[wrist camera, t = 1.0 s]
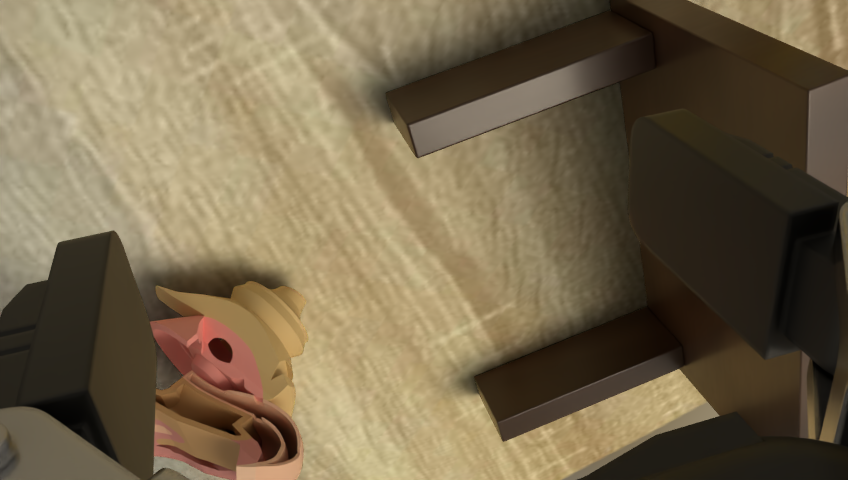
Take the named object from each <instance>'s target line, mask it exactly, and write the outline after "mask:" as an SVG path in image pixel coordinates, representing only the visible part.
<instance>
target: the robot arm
mask: <svg viewBox="0 0 848 480" xmlns="http://www.w3.org/2000/svg"><path fill="white" fill-rule="evenodd" d="M628 215H629V220H630V223H631V226H632V229H633V231H634V233H635V235H636V237H637V238H638V240H639V241H640V242H641V243H642V244H643V245H644V246H645V247H646V248H647V249H648V250H649V251H650V252H651V253H652V254H653V255H654V256H656V257H657V258H658V259H659V260H660V261H661V262H662V263H663V264H664V265H665V266H666V267H667V268H668V269H669V270H670V271H671V272H672V273H673V274H675V275H676V276H677V277H678V278H679V279H680V280H681V281H682V282H683V283H684V284H685V285H686V286H687V287H688V288H689V289H690V290H691V291H692V292H694V293H695V294H696V295H697V296H698V297H699V298H700V299H701V300H702V301H703V302H704V303H705V304H706V305H707V306H708V307H709V308H710V309H711V310H713V311H714V312H715V313H716V314H717V315H718V316H719V317H720V318H721V319H722V320H723V321H724V322H725V323H726V324H727V325H728V326H729V327H730V328H732V329H733V330H734V331H735V332H736V333H737V334H738V335H739V336H740V337H741V338H742V339H743V340H744V341H745V342H746V343H747V344H748V345H749V346H751V347H752V348H753V349H754V350H755V351H756V352H757V353H758V354H759V355H760V356H761V357H762V358H763V359H764V360H767V359H771V358H774V357H778V356H781V355H785V354H788V353H792V352H795V351H799V350H802V351H803V352H804V353H805V354H806V355H807V356H808V357H810V360H809V365H808V370H807V411H808V438H799V437H790V436H758V435H757V433H756V432H755V431H754V430H753V429H752V428H751V427H750V426H749V425H748V424H747V423H746V422H745V420H744V419H743V418H742V417H741V416H740V415H739V414H738V413H737V412H732V413H729V414H725V415H722V416H719V417H715V418H712V419H709V420H705V421H702V422H699V423H695V424H692V425H688V426H685V427H682V428H678V429H675V430H672V431H668V432H665V433H662V434H658V435H655V436H654V437H652V438H650V439H648V440H647V441H645V442H643V443H641V444H640V445H638V446H637V447H635V448H633V449H631V450H630V451H628V452H626V453H624V454H623V455H621V456H619V457H618V458H616V459H614V460H613V461H611V462H609V463H608V464H606V465H604V466H602V467H601V468H599V469H597V470H596V471H594V472H592V473H591V474H589V475H587V476H585V477H583V478H581V479H578V480H848V197H846V196H845V195H843V194H841V193H840V192H838V191H836V190H835V189H833V188H831V187H829V186H828V185H826V184H824V183H823V182H821V181H819V180H818V179H816V178H814V177H812V176H811V175H809V174H807V173H806V172H804V171H802V170H801V169H799V168H797V167H796V168H793V167H792V164H790V163H789V162H787V161H785V160H784V159H782V158H780V157H779V156H776V157H774V156H773V153H772V152H770V151H768V150H767V149H765V148H763V147H762V146H760V145H758V144H756V143H755V142H753V141H751V140H749V139H746V138H742V137H739V136H735V135H732V134H729V133H725V132H723V131H722V130H720V129H718V128H717V127H715V126H713V125H712V124H710V123H708V122H707V121H705V120H703V119H702V118H700V117H698V116H697V115H695V114H693V113H692V112H690V111H688V110H686V109H678V110H673V111H668V112H663V113H659V114H654V115H649V116H645V117H640V118H638V119H637V120H636V121H635V122H634V124H633V126H632V130H631V137H630V160H629V184H628ZM156 372H157V356H156V347H155V342H154V337H153V332H152V328H151V325H150V321H149V318H148V315H147V313H146V310H145V307H144V304H143V301H142V298H141V295H140V293H139V290H138V287H137V284H136V281H135V278H134V276H133V273H132V270H131V267H130V264H129V261H128V259H127V256H126V253H125V250H124V247H123V245H122V242H121V240H120V238H119V236H118V234H117V233H116V232H115V231H109V232H104V233H100V234H95V235H90V236H86V237H81V238H76V239H72V240H67V241H62V242H59V243H58V245H57V247H56V251H55V255H54V259H53V263H52V266H51V270H50V274H49V278H48V280H45V281H41V282H36V283H32V284H27V285H26V286H25V287H24V288H23V289H22V290H21V291H20V292H19V293H18V294H17V295H16V296H15V297H14V298H13V299H12V300H11V301H10V303H9V304H8V305H7V306H6V307H5V308H4V309H3V311H2V314H1V317H0V480H189V479H188V478H186V477H185V476H183V475H182V474H180V473H178V472H177V471H174V470H172V469H168V468H162V469H160V470H159V471H158V472H156V473H155V474H154V475H153V465H154V434H155V403H156Z"/></svg>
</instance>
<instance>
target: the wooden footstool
mask: <svg viewBox="0 0 848 480" xmlns="http://www.w3.org/2000/svg"><path fill="white" fill-rule="evenodd" d="M610 6H611V11H607V12H604V13H601V14H598V15H596V16H593V17H590V18H588V19H585V20H582V21H579V22H577V23H574V24H571V25H568V26H566V27H563V28H560V29H558V30H555V31H552V32H549V33H547V34H544V35H541V36H539V37H536V38H533V39H530V40H528V41H525V42H522V43H520V44H517V45H514V46H511V47H509V48H506V49H503V50H501V51H498V52H495V53H492V54H490V55H487V56H484V57H482V58H479V59H476V60H473V61H471V62H468V63H465V64H463V65H460V66H457V67H454V68H452V69H449V70H446V71H443V72H441V73H438V74H435V75H433V76H430V77H427V78H424V79H422V80H419V81H416V82H414V83H411V84H408V85H405V86H403V87H400V88H397V89H395V90H392V91H389V92H387V93H386V98H387V101H388V105H389V108H390V111H391V114H392V117H393V121H394V124H395V125H396V127H397V128H398V130H399V131H400V133H401V135H402V136H403V138H404V139H405V141H406V142H407V144H408V145H409V147H410V149H411V150H412V152H413V153H414V155H415V156H416V157H417V158H420V157H422V156H425V155H428V154H430V153H433V152H436V151H438V150H441V149H444V148H446V147H449V146H452V145H454V144H457V143H460V142H462V141H465V140H467V139H470V138H473V137H475V136H478V135H481V134H483V133H486V132H489V131H491V130H494V129H497V128H499V127H502V126H505V125H507V124H510V123H512V122H515V121H518V120H520V119H523V118H526V117H528V116H531V115H534V114H536V113H539V112H542V111H544V110H547V109H550V108H552V107H555V106H558V105H560V104H563V103H565V102H568V101H571V100H573V99H576V98H579V97H581V96H584V95H587V94H589V93H592V92H595V91H597V90H600V89H603V88H605V87H608V86H610V85H613V84H616V83H618V82H620V87H621V95H622V103H623V111H624V119H625V128H626V136H627V144H628V152H629V160H630V137H631V130H632V126H633V124H634V122H635V121H636V120H637V119H638V118H640V117H645V116H649V115H654V114H659V113H663V112H668V111H673V110H678V109H686V110H688V111H690V112H692V113H693V114H695V115H697V116H698V117H700V118H702V119H703V120H705V121H707V122H708V123H710V124H712V125H713V126H715V127H717V128H718V129H720V130H722V131H723V132H725V133H729V134H732V135H735V136H739V137H742V138H746V139H749V140H751V141H753V142H755V143H756V144H758V145H760V146H762V147H763V148H765V149H767V150H768V151H770V152H772V153H773V156H774V157H776V156H779V157H780V158H782V159H784V160H785V161H787V162H789V163H790V164H792V167H793V168H796V167H797V168H799V169H801V170H802V171H804V172H806V173H807V174H809V175H811V176H812V177H814V178H816V179H818V180H819V181H821V182H823V183H824V184H826V185H828V186H829V187H831V188H833V189H835V190H836V191H838V192H840V193H841V194H843V195H845V196H846V195H847V179H848V70H846V69H843V68H841V67H839V66H836V65H834V64H832V63H830V62H827V61H825V60H823V59H820V58H818V57H816V56H814V55H811V54H809V53H807V52H804V51H802V50H800V49H798V48H795V47H793V46H791V45H788V44H786V43H784V42H782V41H779V40H777V39H775V38H772V37H770V36H768V35H765V34H763V33H761V32H759V31H756V30H754V29H752V28H749V27H747V26H745V25H743V24H740V23H738V22H736V21H733V20H731V19H729V18H727V17H724V16H722V15H720V14H717V13H715V12H713V11H711V10H708V9H706V8H704V7H701V6H699V5H697V4H694V3H692V2H690V1H688V0H610ZM640 249H641V257H642V265H643V273H644V281H645V289H646V297H647V305H648V307H644V308H642V309H640V310H637V311H635V312H632V313H630V314H627V315H625V316H622V317H620V318H617V319H615V320H613V321H610V322H608V323H605V324H603V325H600V326H598V327H595V328H593V329H590V330H588V331H586V332H583V333H581V334H578V335H576V336H573V337H571V338H568V339H566V340H563V341H561V342H558V343H556V344H554V345H551V346H549V347H546V348H544V349H541V350H539V351H536V352H534V353H531V354H529V355H527V356H524V357H522V358H519V359H517V360H514V361H512V362H509V363H507V364H504V365H502V366H500V367H497V368H495V369H492V370H490V371H487V372H485V373H482V374H480V375H477V376H475V377H474V379H475V382H476V385H477V388H478V391H479V395H480V397H481V399H482V401H483V403H484V405H485V407H486V409H487V411H488V413H489V415H490V417H491V419H492V421H493V423H494V425H495V427H496V429H497V431H498V433H499V435H500V437H501V439H502V441H503V442H504V441H507V440H509V439H512V438H514V437H516V436H519V435H521V434H524V433H526V432H528V431H531V430H533V429H536V428H538V427H540V426H543V425H545V424H548V423H550V422H552V421H555V420H557V419H560V418H562V417H564V416H567V415H569V414H572V413H574V412H576V411H579V410H581V409H584V408H586V407H588V406H591V405H593V404H596V403H598V402H600V401H603V400H605V399H608V398H610V397H612V396H615V395H617V394H620V393H622V392H624V391H627V390H629V389H632V388H634V387H636V386H639V385H641V384H644V383H646V382H648V381H651V380H653V379H656V378H658V377H660V376H663V375H665V374H668V373H670V372H672V371H675V370H677V369H680V370H681V371H682V372H683V374H684V375H685V376H686V377H687V378H688V379H689V381H690V382H691V383H692V384H693V385H694V386H695V388H696V389H697V390H698V391H699V392H700V393H701V395H702V396H703V397H704V398H705V399H706V400H707V402H708V403H709V404H710V405H711V406H712V407H713V409H714V410H715V411H716V412H717V413H718V414H719V415H720V416H722V415H725V414H729V413H732V412H737V413H738V414H739V415H740V416H741V417H742V418H743V419H744V420H745V422H746V423H747V424H748V425H749V426H750V427H751V428H752V429H753V430H754V431H755V432H756V433H757V435H758V436H790V437H799V438H808V411H807V370H808V365H809V360H810V357H808V356H807V355H806V354H805V353H804V352H803V351H802V350H799V351H795V352H792V353H788V354H785V355H781V356H778V357H774V358H771V359H767V360H764V359H763V358H762V357H761V356H760V355H759V354H758V353H757V352H756V351H755V350H754V349H753V348H752V347H751V346H749V345H748V344H747V343H746V342H745V341H744V340H743V339H742V338H741V337H740V336H739V335H738V334H737V333H736V332H735V331H734V330H733V329H732V328H730V327H729V326H728V325H727V324H726V323H725V322H724V321H723V320H722V319H721V318H720V317H719V316H718V315H717V314H716V313H715V312H714V311H713V310H711V309H710V308H709V307H708V306H707V305H706V304H705V303H704V302H703V301H702V300H701V299H700V298H699V297H698V296H697V295H696V294H695V293H694V292H692V291H691V290H690V289H689V288H688V287H687V286H686V285H685V284H684V283H683V282H682V281H681V280H680V279H679V278H678V277H677V276H676V275H675V274H673V273H672V272H671V271H670V270H669V269H668V268H667V267H666V266H665V265H664V264H663V263H662V262H661V261H660V260H659V259H658V258H657V257H656V256H654V255H653V254H652V253H651V252H650V251H649V250H648V249H647V248H646V247H645V246H644V245H643V244H642V243H641V242H640Z"/></svg>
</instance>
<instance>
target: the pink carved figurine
mask: <svg viewBox="0 0 848 480" xmlns="http://www.w3.org/2000/svg"><path fill="white" fill-rule="evenodd" d="M155 289H156V295H157V297H158V299H159V300H161V301H162V302H163V303H165V304H166V305H168V306H169V307H170V308H172V309H173V310H174V311H176V312H177V313H179V314H180V315H182V316H183V317H180V318H173V319H165V320H158V321H151V322H150V325H151V328H152V332H153V337H154V338H155V340H156V342H157V343H158V344H159V346H160V347H161V349H162V350H163V352H164V353H165V354H166V356H167V357H168V358H169V359H170V361H171V362H172V363H173V364H174V365H175V367H176V368H177V369H178V370H179V371H180V372H181V373H182V374H183V375H184V376H183V377H182V378H181V379H179V380H178V381H177V382H175V383H174V384H173V385H172V386H170V388H168V389H164V390H159V389H156V403H155V434H154V456H160V457H167V458H172V459H176V460H180V461H183V462H185V463H187V464H189V465H191V466H193V467H194V468H196V469H198V470H200V471H202V472H204V473H206V474H210V475H213V476H217V477H221V478H225V479H230V480H296V479H297V478H298V476H299V474H300V472H301V469H302V466H303V452H304V448H303V442H302V438H301V435H300V432H299V430H298V428H297V426H296V424H295V422H294V421H293V420H292V413H293V408H294V404H295V396H296V393H295V387H294V384H293V382H292V381H291V380H292V378H293V372H292V365H291V359H290V358H292V357H295V356H298V355H301V354H302V353H303V350H304V346H305V343H306V342H307V341H308V335H307V332H306V330H305V328H304V326H303V324H302V323H301V321H300V314H301V312H302V309H303V307H304V306H305V304H306V300H305V298H304V297H303V296H302V295H301V294H300V293H298V292H297V291H295V290H294V289H292V288H289V287H286V286H281V287H278V288H276V289H267V288H266V287H264V286H263V285H261V284H259V283H256V282H253V281H248V282H247V283H246V284H243V285H239V286H235V287H234V288H233V291H232V295H231V298H230V299H229V298H223V297H216V296H209V295H202V294H192V293H183V292H176V291H173V290H170V289H167V288H164V287H161V286H157V285H156V288H155ZM218 338H222V340H221V341H220V340H219V339H218Z"/></svg>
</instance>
